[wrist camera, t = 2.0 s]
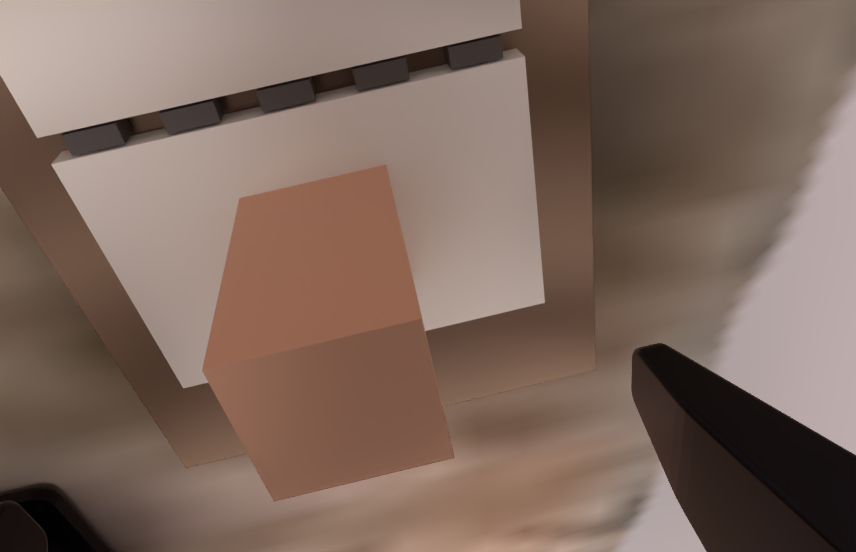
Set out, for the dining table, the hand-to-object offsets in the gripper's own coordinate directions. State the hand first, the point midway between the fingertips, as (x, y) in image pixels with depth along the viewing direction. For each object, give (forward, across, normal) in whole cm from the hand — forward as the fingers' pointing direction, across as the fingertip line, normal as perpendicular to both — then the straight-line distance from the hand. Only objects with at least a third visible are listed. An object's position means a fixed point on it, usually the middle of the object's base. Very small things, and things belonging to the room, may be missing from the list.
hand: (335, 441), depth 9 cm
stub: (+6, 0, 0) cm, 6 cm away
